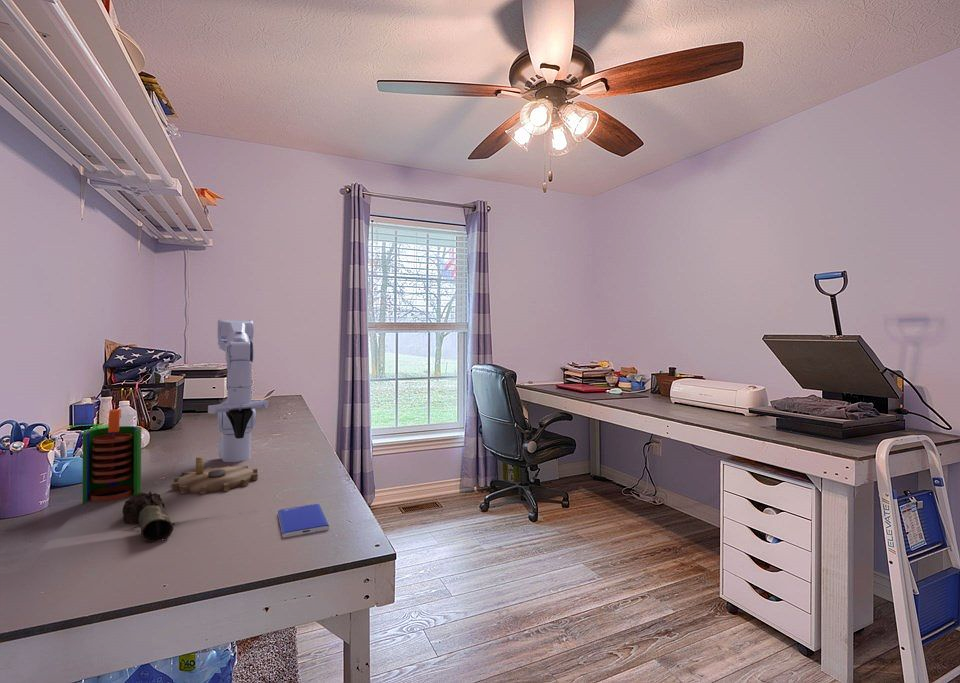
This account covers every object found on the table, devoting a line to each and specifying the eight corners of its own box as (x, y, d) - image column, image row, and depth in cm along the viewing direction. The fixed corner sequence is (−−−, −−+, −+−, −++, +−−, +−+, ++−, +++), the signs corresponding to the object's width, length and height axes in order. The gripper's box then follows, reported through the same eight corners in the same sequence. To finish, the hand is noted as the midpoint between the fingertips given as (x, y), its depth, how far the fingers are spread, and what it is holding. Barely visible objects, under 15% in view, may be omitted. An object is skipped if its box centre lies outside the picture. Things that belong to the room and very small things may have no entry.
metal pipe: (173, 539, 83) (173, 508, 83) (127, 550, 79) (126, 518, 79) (161, 510, 97) (161, 484, 97) (121, 519, 92) (120, 491, 92)
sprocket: (274, 474, 118) (275, 453, 118) (213, 498, 101) (214, 473, 101) (219, 468, 124) (219, 448, 124) (152, 489, 106) (152, 465, 106)
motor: (82, 511, 96) (82, 415, 95) (82, 499, 102) (82, 410, 102) (142, 500, 102) (143, 411, 102) (138, 490, 109) (139, 406, 109)
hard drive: (277, 509, 95) (282, 532, 84) (319, 503, 99) (329, 524, 88) (277, 517, 95) (282, 540, 84) (319, 510, 99) (329, 532, 88)
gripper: (215, 389, 113) (215, 444, 113) (273, 385, 124) (273, 435, 124) (205, 387, 118) (204, 440, 118) (262, 384, 129) (261, 432, 129)
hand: (239, 437), depth 121 cm, fingers closed
